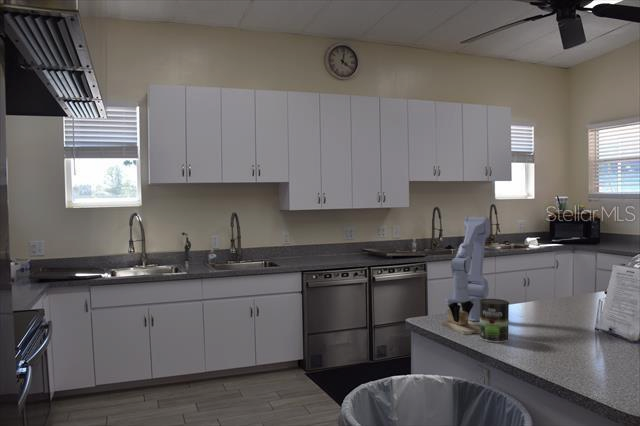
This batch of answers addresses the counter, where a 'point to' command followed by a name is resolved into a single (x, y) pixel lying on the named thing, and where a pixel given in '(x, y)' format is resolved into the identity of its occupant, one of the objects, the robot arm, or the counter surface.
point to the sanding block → (462, 318)
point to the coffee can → (494, 320)
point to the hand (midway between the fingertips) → (460, 320)
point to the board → (464, 327)
